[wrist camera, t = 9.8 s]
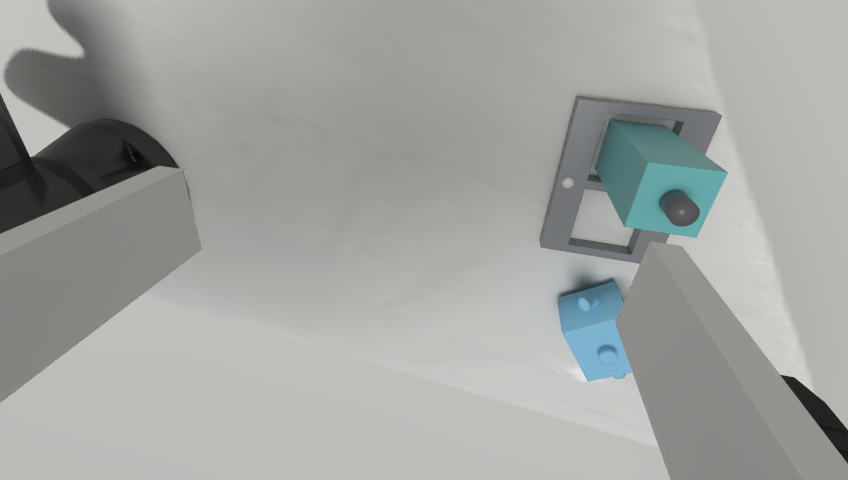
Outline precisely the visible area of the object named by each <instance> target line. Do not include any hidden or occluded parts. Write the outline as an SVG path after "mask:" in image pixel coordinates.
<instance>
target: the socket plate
mask: <svg viewBox="0 0 848 480" xmlns="http://www.w3.org/2000/svg"><path fill="white" fill-rule="evenodd" d="M607 113H612V114H621V115H629V116H638V117H647V118H655V119H664V120H673V121H677V122H676V124H675V127H674V130H673V132H674V133H675V134H677V135H678V136H679V137H681V138H682V139H683V140H685V141H686V142H687V143H689V144H690V145H691V146H693V147H694V148H695V149H697V150H698V151H699V152H701V153H702V154H704V155H705V153H706V151H707V149H708V147H709V144H710V142H711V140H712V138H713V135H714V133H715V131H716V129H717V126H718V124H719V122H720V120H721V117H722V115H720V114H718V113H716V112H713V111H704V110H695V109H686V108H677V107H668V106H659V105H650V104H641V103H632V102H623V101H614V100H605V99H595V98H586V97H576V101H575V105H574V109H573V113H572V117H571V121H570V124H569V128H568V132H567V136H566V140H565V144H564V148H563V152H562V156H561V160H560V164H559V167H558V171H557V175H556V179H555V183H554V187H553V191H552V195H551V199H550V203H549V207H548V211H547V214H546V218H545V222H544V226H543V230H542V234H541V238H540V246H541V247H542V248H548V249H554V250H561V251H567V252H573V253H579V254H585V255H591V256H597V257H603V258H609V259H615V260H621V261H627V262H633V263H639V264H641V261H642V259H643V257H644V254H645V252H646V250H647V247H648V245H649V243H650V241H651V242H658V243H664V244H666V241H667V239H668V237H669V235H670V234H669V233H662V232H656V231H649V230H642V229H636V228H635V230H634V232H633V235H632V237H631V240H630V243H629V245H628V247H623V246H617V245H611V244H605V243H598V242H592V241H586V240H579V239H573V238H570V236H571V233H572V229H573V226H574V223H575V219H576V216H577V213H578V209H579V206H580V203H581V199H582V196H583V193H584V189H590V190H597V191H604V192H607V191H606V189H605V187H604V185H603V183H602V181H601V179H600V177H596V176H589V173H590V169H591V166H592V163H593V159H594V156H595V152H596V149H597V146H598V142H599V139H600V136H601V132H602V129H603V126H604V122H605V119H606V116H607Z"/></svg>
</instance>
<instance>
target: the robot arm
mask: <svg viewBox="0 0 848 480" xmlns="http://www.w3.org/2000/svg"><path fill="white" fill-rule="evenodd" d="M200 250H201V245H200V240H199V236H198V232H197V228H196V223H195V219H194V215H193V211H192V207H191V202H190V198H189V194H188V190H187V185H186V181H185V177H184V173H183V169H178V168H177V166H176V165H175V163H174V162H173V160H172V159H171V158H170V156H169V155H168V154H167V153H166V151H165V150H164V149H163V148H162V147H161V146H160V145H159V144H158V143H157V142H155V141H154V140H153V139H152V138H151V137H149V136H148V135H147V134H145V133H144V132H142V131H141V130H139V129H137V128H135V127H133V126H131V125H129V124H127V123H124V122H120V121H116V120H109V119H104V120H97V121H93V122H89V123H85V124H81V125H78V126H76V127H74V128H72V129H70V130H69V131H67V132H66V133H65V134H63V135H62V136H61V137H59V138H58V139H57V140H55V141H54V142H52V143H51V144H50V145H48V146H47V147H46V148H44V149H43V150H42V151H40V152H39V153H38V154H36V155H35V156H33V157H30V156H29V154H28V152H27V150H26V148H25V145H24V143H23V141H22V139H21V137H20V135H19V133H18V131H17V129H16V127H15V124H14V122H13V120H12V118H11V116H10V114H9V111H8V109H7V107H6V105H5V103H4V101H3V98H2V96H1V94H0V402H2V401H3V400H4V399H6V398H7V397H8V396H9V395H11V394H12V393H14V392H15V391H16V390H17V389H19V388H20V387H21V386H23V385H24V384H25V383H27V382H28V381H29V380H30V379H32V378H33V377H34V376H36V375H37V374H38V373H40V372H41V371H42V370H43V369H45V368H46V367H47V366H49V365H50V364H52V363H53V362H54V361H55V360H57V359H58V358H59V357H61V356H62V355H63V354H65V353H66V352H67V351H69V350H70V349H71V348H72V347H74V346H75V345H76V344H78V343H79V342H80V341H82V340H83V339H84V338H85V337H87V336H88V335H90V334H91V333H92V332H93V331H95V330H96V329H97V328H99V327H100V326H101V325H103V324H104V323H105V322H107V321H108V320H109V319H110V318H112V317H113V316H114V315H115V314H117V313H118V312H120V311H121V310H122V309H124V308H125V307H126V306H128V305H129V304H130V303H131V302H133V301H134V300H135V299H137V298H138V297H139V296H141V295H142V294H143V293H145V292H146V291H147V290H149V289H150V288H151V287H152V286H154V285H155V284H156V283H158V282H159V281H160V280H162V279H163V278H164V277H166V276H167V275H168V274H169V273H171V272H172V271H173V270H175V269H176V268H177V267H179V266H180V265H181V264H183V263H184V262H185V261H187V260H188V259H189V258H190V257H192V256H193V255H194V254H196V253H197V252H198V251H200ZM615 324H616V327H617V330H618V332H619V335H620V338H621V341H622V344H623V346H624V349H625V352H626V355H627V358H628V361H629V363H630V366H631V369H632V372H633V375H634V378H635V380H636V383H637V386H638V389H639V392H640V394H641V397H642V400H643V403H644V406H645V409H646V411H647V414H648V417H649V420H650V423H651V425H652V428H653V431H654V434H655V437H656V440H657V442H658V445H659V448H660V451H661V454H662V456H663V459H664V462H665V465H666V468H667V471H668V473H669V476H670V479H671V480H848V430H847V428H845V426H844V425H843V424H842V423H841V421H840V420H839V419H838V418H837V416H836V415H835V414H834V413H833V412H832V410H831V409H830V408H829V407H828V405H827V404H826V403H825V402H824V401H822V400H821V399H820V398H819V397H818V396H816V395H815V394H814V393H813V392H811V391H810V390H809V389H808V388H806V387H805V386H804V385H803V384H802V383H800V382H799V381H798V380H797V379H795V378H794V377H789V376H784V375H780V374H779V373H778V372H777V370H776V369H775V368H774V367H773V365H772V364H771V363H770V361H769V360H768V359H767V357H766V356H765V355H764V353H763V352H762V351H761V349H760V348H759V347H758V346H757V344H756V343H755V342H754V340H753V339H752V338H751V336H750V335H749V334H748V332H747V331H746V330H745V329H744V327H743V326H742V325H741V323H740V322H739V321H738V319H737V318H736V317H735V315H734V314H733V313H732V311H731V310H730V309H729V308H728V306H727V305H726V304H725V302H724V301H723V300H722V298H721V297H720V296H719V294H718V293H717V292H716V290H715V289H714V288H713V287H712V285H711V284H710V283H709V281H708V280H707V279H706V277H705V276H704V275H703V273H702V272H701V271H700V270H699V268H698V267H697V266H696V264H695V263H694V262H693V260H692V259H691V258H690V256H689V255H688V254H687V252H686V251H685V250H684V249H683V247H682V246H677V245H671V244H664V243H658V242H651V241H650V243H649V245H648V247H647V250H646V252H645V254H644V257H643V259H642V261H641V264H640V266H639V268H638V271H637V273H636V275H635V278H634V280H633V282H632V285H631V287H630V289H629V292H628V294H627V296H626V298H625V301H624V303H623V305H622V308H621V310H620V312H619V315H618V317H617V319H616V322H615Z"/></svg>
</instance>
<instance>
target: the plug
mask: <svg viewBox="0 0 848 480" xmlns="http://www.w3.org/2000/svg"><path fill="white" fill-rule="evenodd" d="M595 170H596V171H597V173H598V175H599V177H600V179H601V181H602V183H603V185H604V187H605V189H606V191H607V193H608V195H609V197H610V199H611V201H612V203H613V205H614V207H615V209H616V211H617V213H618V215H619V217H620V219H621V221H622V223H623V225H624V227H629V228H636V229H642V230H649V231H656V232H662V233H669V234H675V235H682V236H688V237H695V238H696V237H697V235H698V233H699V231H700V229H701V227H702V225H703V223H704V221H705V219H706V217H707V215H708V213H709V211H710V208H711V206H712V204H713V202H714V200H715V198H716V196H717V194H718V192H719V190H720V188H721V186H722V184H723V182H724V180H725V178H726V175H727V173H728V172H726V171H725V170H724V169H722V168H721V167H720V166H718V165H717V164H716V163H714V162H713V161H712V160H710V159H709V158H708V157H706V156H705V155H704V154H702V153H701V152H699V151H698V150H697V149H695V148H694V147H693V146H691V145H690V144H689V143H687V142H686V141H685V140H683V139H682V138H681V137H679V136H678V135H677V134H675V133H674V132H673V131H671V130H670V129H669V128H667V127H666V126H664V125H655V124H647V123H638V122H630V121H621V120H613V119H610V120H609V124H608V127H607V130H606V134H605V137H604V140H603V143H602V147H601V150H600V153H599V157H598V160H597V163H596V166H595Z"/></svg>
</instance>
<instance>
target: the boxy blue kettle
mask: <svg viewBox="0 0 848 480" xmlns="http://www.w3.org/2000/svg"><path fill="white" fill-rule="evenodd" d="M557 299H558V306H559V314H560V321H561V329H562V333H563V335H564V337H565V338H566V340H567V342H568V344H569V346H570V348H571V350H572V352H573V354H574V356H575V358H576V360H577V362H578V363H579V365H580V367H581V369H582V371H583V373H584V375H585V377H586V379H587V381H592V380H597V379H602V378H607V377H612V376H614V378H616V379H621V378H624V377H625V374H627V373H631V372H632V369H631V366H630V363H629V361H628V358H627V355H626V352H625V349H624V346H623V344H622V341H621V338H620V335H619V332H618V330H617V327H616V324H615V322H616V319H617V317H618V315H619V312H620V310H621V308H622V305H623V303H624V301H623V299H622V296H621V294H620V292H619V289H618V287H617V285H616V282H615V281H613V282H610V283H606V284H603V285H600V286H596V287H593V288H590V289H586V290H583V291H580V292H576V293H573V294H569V295H566V296H563V297H559V298H557Z"/></svg>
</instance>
